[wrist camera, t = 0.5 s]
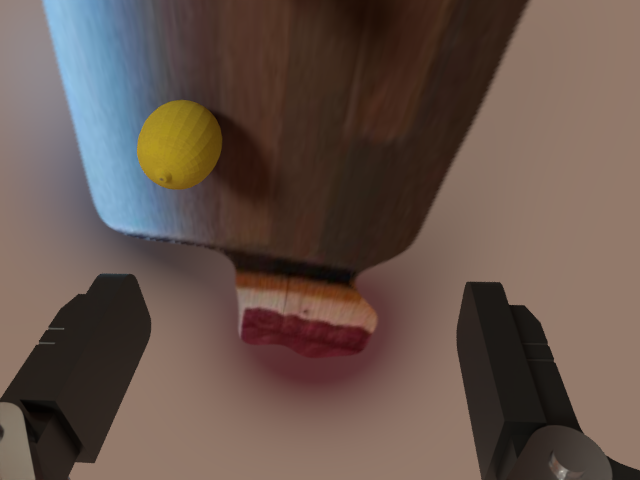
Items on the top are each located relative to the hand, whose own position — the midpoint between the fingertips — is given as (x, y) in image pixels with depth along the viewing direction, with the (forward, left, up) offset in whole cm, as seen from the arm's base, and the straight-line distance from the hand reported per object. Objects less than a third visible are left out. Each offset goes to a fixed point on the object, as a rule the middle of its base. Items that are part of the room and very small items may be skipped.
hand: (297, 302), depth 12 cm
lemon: (+3, -16, -25) cm, 29 cm away
